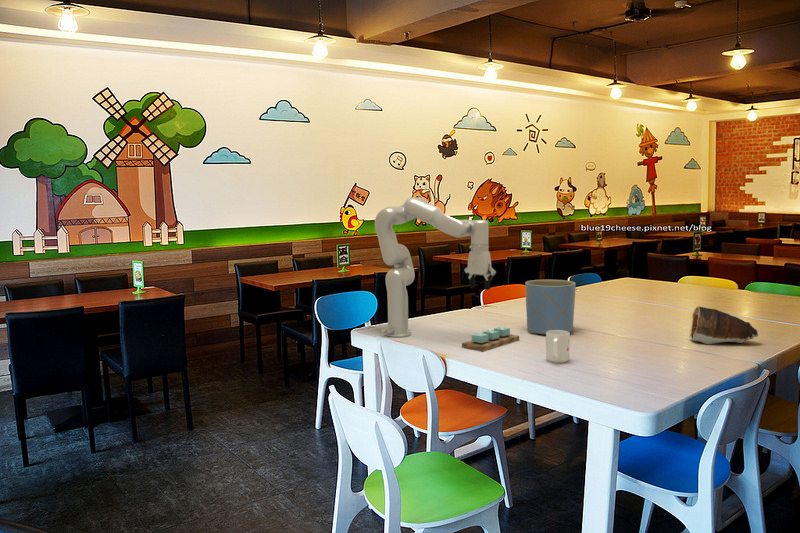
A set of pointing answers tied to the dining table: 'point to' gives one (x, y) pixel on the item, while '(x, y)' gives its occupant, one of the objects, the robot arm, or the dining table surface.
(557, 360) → the mug
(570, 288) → the planter
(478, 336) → the tile one
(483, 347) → the board
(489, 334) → the tile two
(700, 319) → the brown wedge
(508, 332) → the tile three
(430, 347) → the dining table surface
